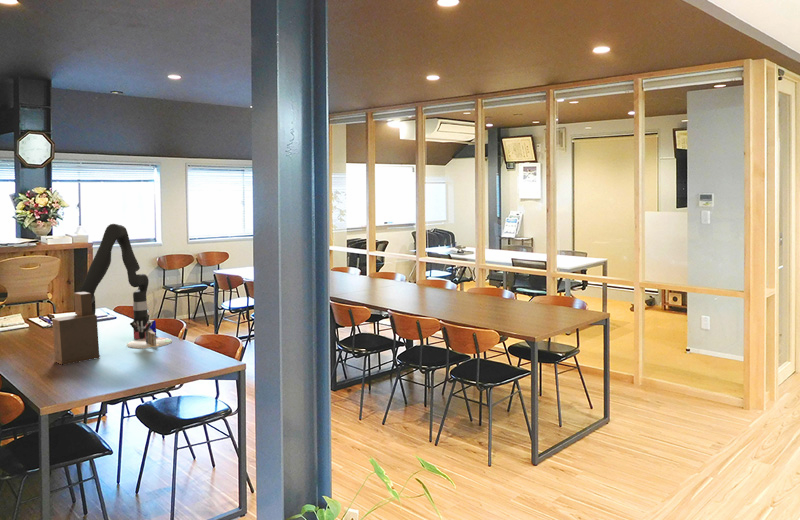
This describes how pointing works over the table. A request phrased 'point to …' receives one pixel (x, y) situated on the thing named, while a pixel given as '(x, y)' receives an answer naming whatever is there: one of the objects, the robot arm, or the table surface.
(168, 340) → the disc
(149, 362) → the table surface
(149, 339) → the peg lever
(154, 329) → the puzzle cube
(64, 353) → the stepped brown block
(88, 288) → the robot arm
